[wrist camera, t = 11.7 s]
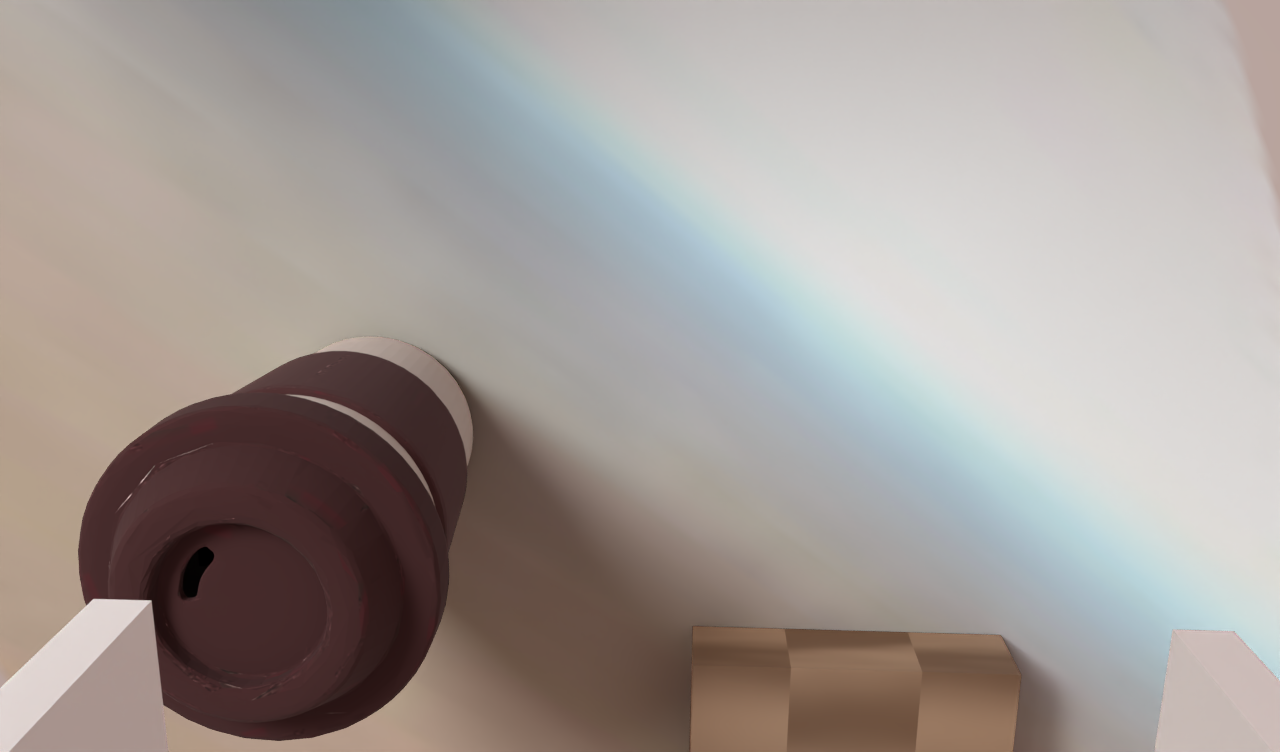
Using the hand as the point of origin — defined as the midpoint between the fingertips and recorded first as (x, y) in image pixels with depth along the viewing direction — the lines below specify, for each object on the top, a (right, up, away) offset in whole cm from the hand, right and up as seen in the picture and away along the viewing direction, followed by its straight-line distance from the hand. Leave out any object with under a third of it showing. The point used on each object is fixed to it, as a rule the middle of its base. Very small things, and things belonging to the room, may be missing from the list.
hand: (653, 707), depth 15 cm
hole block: (+8, -11, +33) cm, 36 cm away
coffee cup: (-10, +2, +30) cm, 31 cm away
